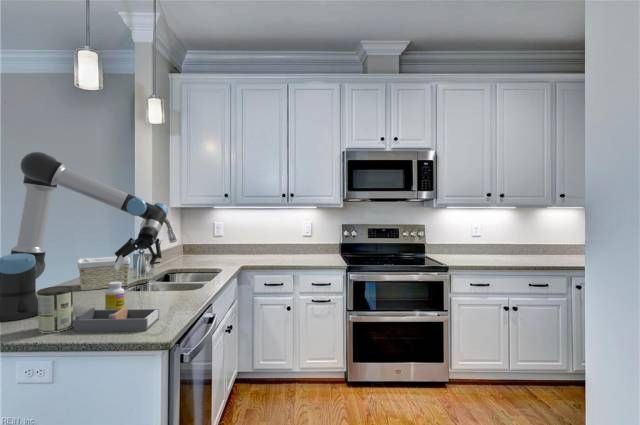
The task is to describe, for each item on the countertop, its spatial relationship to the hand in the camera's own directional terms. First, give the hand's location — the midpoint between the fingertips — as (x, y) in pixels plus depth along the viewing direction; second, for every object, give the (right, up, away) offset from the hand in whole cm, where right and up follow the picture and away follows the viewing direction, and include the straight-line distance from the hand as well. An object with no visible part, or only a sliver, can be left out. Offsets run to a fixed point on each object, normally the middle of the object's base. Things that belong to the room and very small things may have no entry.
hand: (130, 270), depth 163 cm
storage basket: (-34, -15, +42) cm, 56 cm away
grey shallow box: (+7, -17, -22) cm, 29 cm away
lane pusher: (+6, -15, -23) cm, 28 cm away
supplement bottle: (-1, -16, -10) cm, 19 cm away
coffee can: (-13, -17, -27) cm, 34 cm away
